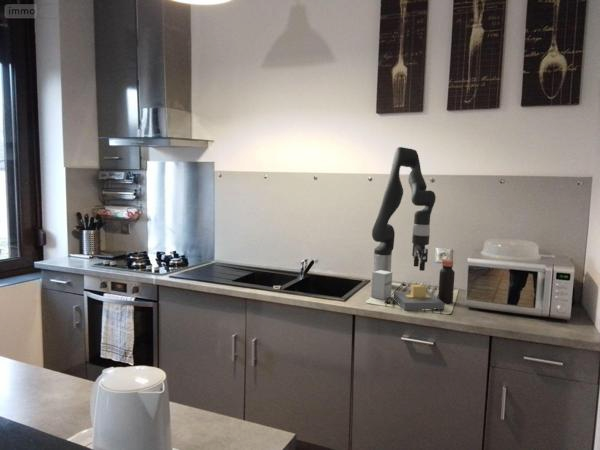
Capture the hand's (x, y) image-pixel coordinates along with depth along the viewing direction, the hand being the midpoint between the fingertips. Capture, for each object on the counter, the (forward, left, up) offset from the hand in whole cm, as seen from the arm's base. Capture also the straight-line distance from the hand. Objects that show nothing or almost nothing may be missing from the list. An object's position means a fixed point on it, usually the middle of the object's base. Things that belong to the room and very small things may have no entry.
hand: (418, 268), depth 218 cm
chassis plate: (0, 0, -17) cm, 17 cm away
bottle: (-4, +15, -18) cm, 24 cm away
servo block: (0, 0, -17) cm, 17 cm away
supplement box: (-13, -14, -18) cm, 26 cm away
